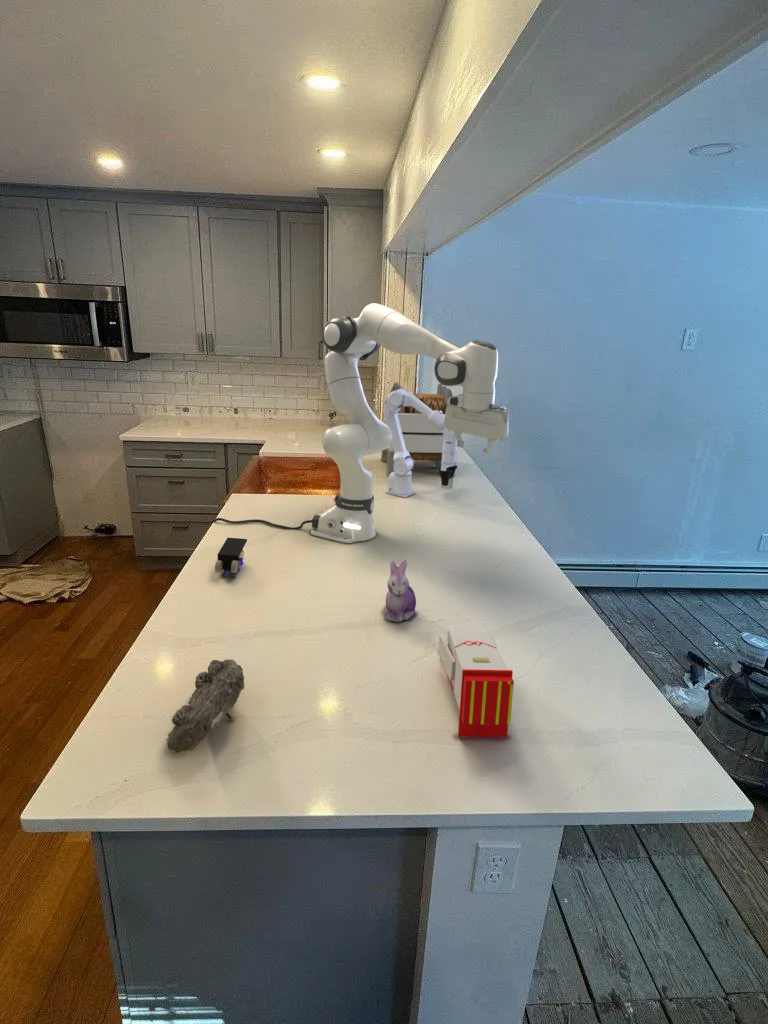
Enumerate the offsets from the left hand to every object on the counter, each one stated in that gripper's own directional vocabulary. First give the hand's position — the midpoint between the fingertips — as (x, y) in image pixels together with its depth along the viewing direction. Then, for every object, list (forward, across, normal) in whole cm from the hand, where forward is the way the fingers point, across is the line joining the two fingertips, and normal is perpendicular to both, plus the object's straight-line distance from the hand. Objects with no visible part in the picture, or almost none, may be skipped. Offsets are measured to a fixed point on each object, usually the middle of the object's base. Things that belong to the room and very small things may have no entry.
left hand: (473, 450), depth 163 cm
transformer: (+38, +87, -77) cm, 122 cm away
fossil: (+37, -10, +90) cm, 98 cm away
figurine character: (+37, +44, +54) cm, 79 cm away
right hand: (+30, +45, -48) cm, 72 cm away
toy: (+37, -38, +48) cm, 72 cm away
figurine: (+37, -7, +35) cm, 52 cm away
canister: (+32, +45, -48) cm, 73 cm away
